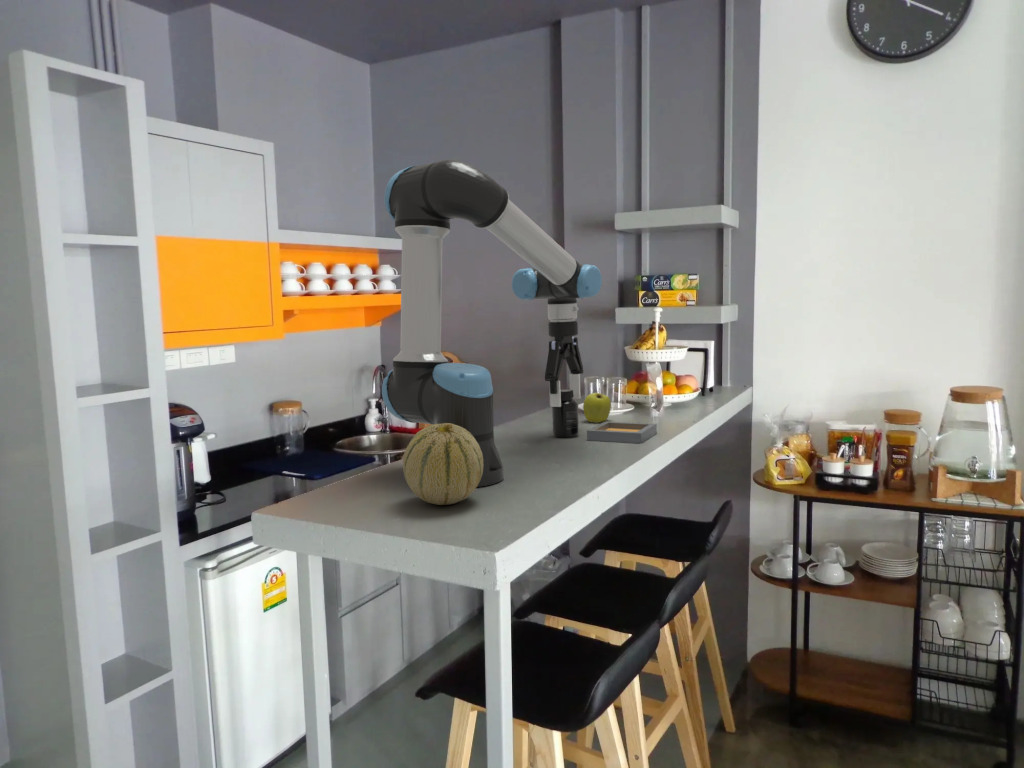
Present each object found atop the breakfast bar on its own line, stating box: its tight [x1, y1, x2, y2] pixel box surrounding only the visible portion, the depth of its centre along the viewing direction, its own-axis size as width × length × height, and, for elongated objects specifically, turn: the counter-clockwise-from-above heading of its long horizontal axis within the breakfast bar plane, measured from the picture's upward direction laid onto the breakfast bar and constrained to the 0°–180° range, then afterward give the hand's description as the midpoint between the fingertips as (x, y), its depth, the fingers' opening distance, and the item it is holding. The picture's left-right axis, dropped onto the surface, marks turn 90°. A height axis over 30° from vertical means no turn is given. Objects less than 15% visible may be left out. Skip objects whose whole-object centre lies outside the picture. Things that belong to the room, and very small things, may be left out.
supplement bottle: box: [551, 389, 580, 439], centre depth 197 cm, size 7×7×12 cm
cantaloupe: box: [402, 423, 484, 506], centre depth 137 cm, size 15×15×15 cm
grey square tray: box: [586, 420, 658, 444], centre depth 194 cm, size 14×14×2 cm
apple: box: [582, 388, 612, 424], centre depth 217 cm, size 8×8×10 cm
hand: (565, 402), depth 197 cm, fingers open, 13 cm apart
